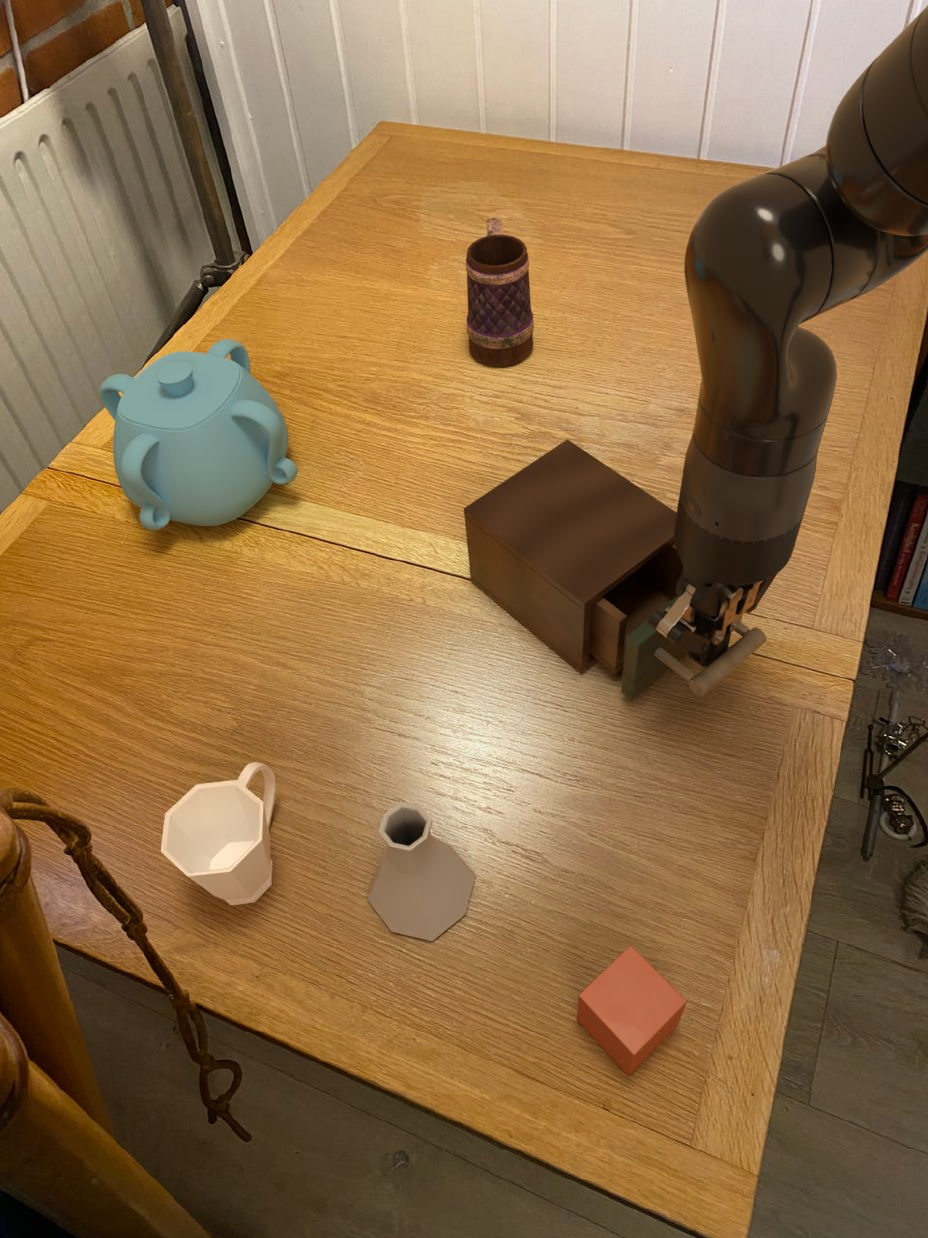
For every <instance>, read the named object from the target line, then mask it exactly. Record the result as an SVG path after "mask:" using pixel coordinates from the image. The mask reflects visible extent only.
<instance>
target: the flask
mask: <svg viewBox="0 0 928 1238" xmlns="http://www.w3.org/2000/svg"><path fill="white" fill-rule="evenodd" d="M433 821H434V820H433V818H432V817H431V816H430V815H429V814H428V813H427V811H426V810H425V809H424V808H423V807H422V806H421V805H420V804H415V803H412V802H411V803H410V802H406V801H399V802H397V803H396V804H395V805H393V806H392V807H391V808H390V809H388V810H387V811H386V812H384V813H383V816H382V819H381V822H380V825H379V828H378V831H377V833H378V835H379V836H380V837H381V838H382V840H383V841H384V842H385V844H386V851H385V853H384V854H383V856H382V857H381V859H380V861H379V864H378V867H377V870H376V872H375V876H374V879H373V882H372V884H371V888H370V891H369V893H368V897H367V902H368V903H369V905H370V906H371V907H372V908H373V909H374V911H375V912H376V914H377V915H378V916H379V918H380V919H381V920H382V922H383V923H384V924H385V925H386V927H387V929H389V930H390V932H392V933H396V934H400V935H403V936H408V937H412V938H417V939H420V940H424V941H429V942H434V941H435V940H436V939H438V937H439V936H441V935H442V934H444V932H446V931H447V930H448V929H450V927H452V926H453V925H454V924H455V923H457V922H458V921H459V920H461V918H463V917H464V916H465V915H466V914H467V911H468V907H469V902H470V899H471V895H472V891H473V887H474V884H475V880H476V874H475V872H474V871H473V870H472V869H471V868H470V867H469V865H468V864H467V863H466V862H465V860H463V858H461V856H460V855H459V854H458V853H457V852H456V850H455V849H454V848H453V847H452V845H450V844H448V843H446V842H444V841H442V840H441V839H438V837H437V838H436V837H435V836H433V835H432V834H431V829H432V826H433Z"/></svg>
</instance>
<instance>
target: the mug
mask: <svg viewBox="0 0 928 1238" xmlns="http://www.w3.org/2000/svg"><path fill="white" fill-rule="evenodd" d="M529 266H530V259H529V253H528V248H527V246H526V244H525V243H524V242H523V241H522V240H521V239H520V238H517V237H516V236H513V235H510V234H509V235H508V234H503V221H502V219H500V218H497V217H492V218H488V219H486V236H483V237H480V238H478V239H477V240H474V241H473V242H471V244H470V245H469V246H468V247H467V251H466V258H465V271H466V289H467V291H466V292H467V314H466V315H467V316H466V332H467V336H468V349H469V353H470V355H471V356H472V357H473V358H474V360H476V361H478V362H480V363H482V364H483V365H486V366H490V367H509V366H513V365H515V364H518V363H520V362H522V361H524V359H526V358H527V357H528V356H529V355H530V354H531V352H532V351H533V349H534V336H533V335H534V334H533V333H534V327H535V325H534V313H533V310H532V304H531V303H532V302H531V286H530V271H529V268H530V267H529Z"/></svg>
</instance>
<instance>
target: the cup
mask: <svg viewBox="0 0 928 1238" xmlns="http://www.w3.org/2000/svg"><path fill="white" fill-rule="evenodd" d="M259 771H260V772H261V774H262V775H263V781H264V789H263V790H264V791H263V799H261V798H259V797H258V796H257V795H255V794H254V793H253V792H252V791H251V790H249V789H250V787H251V784H252V780H253V779H254V776H255V775H256V774H257V773H258V772H259ZM275 775H276V774H275V773H274V771H273V770H272V768H271V767H269V766H268V765H267V764H265V763H262V762H258V761H253V762H251V763H248V764H246V766H245V767H244V768H243V770H242V771H241V773H240V774H239V776H238V778H237V779H232V780H231V779H230V780H223V781H213V782H206V783H204V782H203V783H196V784H195V785H194V786H193V787H192V788H191V789H190V790H188V792H186V793H185V794H184V795H183V796H182V797H181V798H180V799H179V800H178V801H176V803H175V804H174V805H173V806H171V807H170V808H169V809H168V810H167V811H166V812H165V813H164V820H163V828H162V837H161V844H160V845H161V846H160V852H161V854H162V855H164V856H165V858H167V859H168V860H169V861H170V862H171V863H173V865H174V866H175V867H177V868H178V869H179V870H180V871H181V872H182V873H183V874H184V875H185V876H187V878H189V879H190V880H191V881H193V882H194V883H196V884H197V885H199V886H200V887H202V888H203V889H204V890H205V891H206V892H208V893H209V894H211V895H212V896H214V897H216V898H219V899H220V900H224V901H225V902H226V903H227V904H228V905H229V906H236V905H237V906H238V905H246V904H254V903H256V902H257V901H258V900H259V899H260V897H262V896H263V894H264V893H265V892H266V891H267V890H268V889H269V888H270V887H271V886H273V869H274V868H273V867H274V866H273V864H274V863H273V862H274V861H273V859H271V835H270V830H269V829H270V825H271V822H272V821H271V820H272V816H273V811H274V807H275V800H276V790H277V781H276V776H275Z"/></svg>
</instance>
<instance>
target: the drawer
mask: <svg viewBox="0 0 928 1238" xmlns="http://www.w3.org/2000/svg"><path fill="white" fill-rule="evenodd" d="M682 571H683V565H682V562H681V560H680V557H679V555H678V552H677V550H676V547H675V543H674V542H673V543H672V544H671V545H669V546H668V547H667V548H665V549H664V550H663V551H661V552H660V553H659V554H657V555H656V556H655V557H654V558H652V559H651V560H650V561H648V562H647V563H646V564H644V565H643V566H642V567H640V568H639V569H638V570H637V571H635V572H634V573H633V574H631V575H630V576H629V577H627V578H626V579H625V580H623V581H622V582H621V583H620V584H618V585H617V586H616V587H614V588H613V589H612V590H610V591H609V592H608V593H606V594H605V595H604V596H602V597H601V598H600V599H599V600H597V601H596V602H595V603H593V604H592V608H591V627H590V646H589V653H590V654H591V655H592V656H593V657H595V658H596V659H597V660H598V662H599V663H600V664H601V665H603V666H604V667H606V668H607V669H608V670H609V671H610V672H611V673H613V674H614V675H616V674H617V673H618V672H620V671H622V679H621V687H620V693H622V694H623V695H624V696H625V697H626V698H628V699H629V700H630V701H631V702H633V701H634V700H636V699H637V698H638V697H639V696H640V695H641V694H643V693H644V692H645V691H646V690H648V689H649V688H650V687H651V686H652V685H653V684H655V683H656V682H657V681H658V680H660V679H661V678H662V677H663V676H664V675H665V674H667V673H668V672H669V671H670V670H672V671H673V672H675V673H676V674H677V675H679V676H680V677H681V678H682V679H684V680H685V681H686V682H688V687H689V689H690V691H691V692H692V693H693V694H694V695H696V696H697V697H700V698H701V697H704V696H705V695H707V693H709V692H710V691H711V690H712V689H713V688H714V687H715V686H716V685H718V684H719V683H720V682H721V681H723V680H724V679H725V678H727V676H728V675H729V674H730V673H731V672H733V671H734V670H735V669H736V668H737V667H739V666H740V665H741V664H742V663H743V662H744V661H745V660H746V659H748V658H749V657H750V656H752V654H754V653H755V652H756V651H757V650H758V649H759V648H761V647H762V646H763V645H765V643H766V642H767V636H766V633H765V632H764V631H762V629H760V628H758V627H751V628H750V627H748V626H747V625H746V624H744V623H742V621H741V622H740V625H739V627H738V628H737V629H735V630H734V631H733V632H735V633H737V634H738V635H740V636H741V637H740V638H739V639H738V640H736V641H735V642H734V643H733V644H731V646H728V649H727V650H726V651H725V652H723V653H722V654H721V655H720V656H719V657H718V658H716V659H715V660H714V661H713V662H712V663H711V664H709V665H708V666H707V667H705V668H703V669H702V670H701V671H700V672H699V673H698V674H696V673H695V672H694V671H692V670H691V669H690V668H688V667H687V666H686V665H684V664H683V663H682V662H681V661H682V660H683V659H685V658H686V657H687V656H689V655H688V654H689V650H687V649H684V648H682V647H679V646H676V645H675V644H674V643H672V642H671V641H670V640H668V639H667V638H666V637H664V636H663V635H662V634H660V633H659V632H658V631H657V630H655V629H654V628H653V627H651V626H650V625H649V624H648V620H649V618H650V616H651V615H652V614H653V613H654V612H655V611H656V610H661V611H663V612H664V611H665V609H666V608H667V607H670V608H671V607H672V606H673V605H674V603H675V602H676V600H677V599H678V596H677V595H676V584H677V582H678V580H679V578H680V576H681V574H682Z"/></svg>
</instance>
